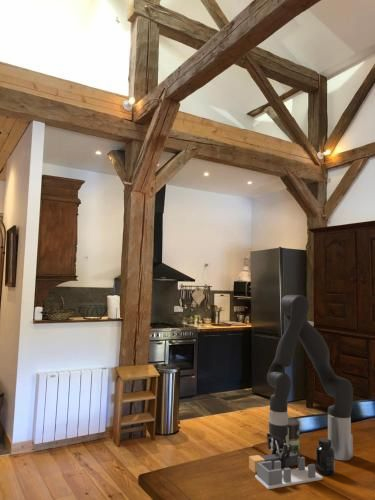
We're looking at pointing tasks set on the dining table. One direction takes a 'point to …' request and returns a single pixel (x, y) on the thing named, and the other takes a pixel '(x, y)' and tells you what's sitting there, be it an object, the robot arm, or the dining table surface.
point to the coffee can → (293, 436)
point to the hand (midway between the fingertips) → (278, 465)
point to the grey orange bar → (274, 457)
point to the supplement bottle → (325, 457)
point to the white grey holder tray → (285, 474)
